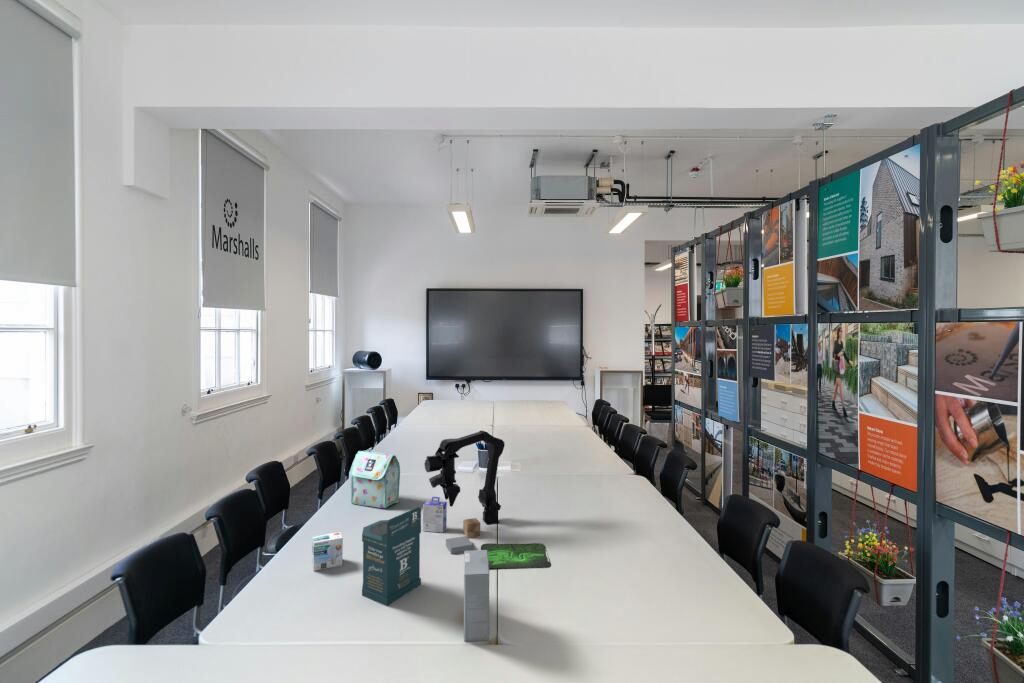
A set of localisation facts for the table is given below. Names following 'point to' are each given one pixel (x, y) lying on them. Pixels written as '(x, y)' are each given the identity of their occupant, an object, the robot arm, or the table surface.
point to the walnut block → (471, 527)
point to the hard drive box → (476, 595)
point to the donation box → (391, 557)
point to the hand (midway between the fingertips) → (448, 502)
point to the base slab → (459, 544)
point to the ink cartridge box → (434, 515)
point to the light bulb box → (327, 551)
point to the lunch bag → (375, 479)
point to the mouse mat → (516, 556)
